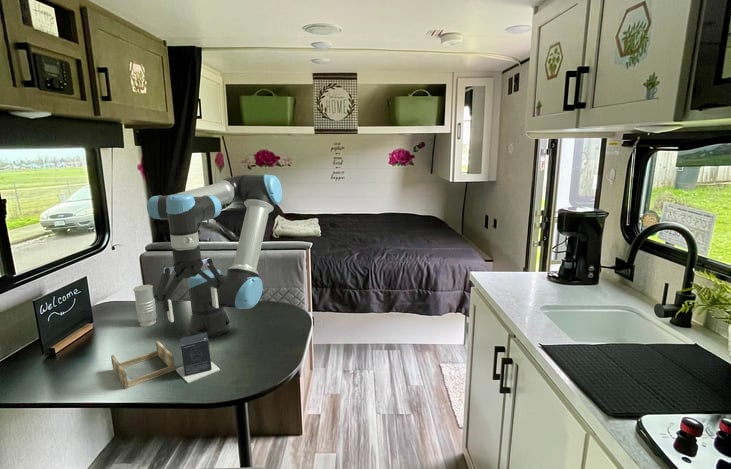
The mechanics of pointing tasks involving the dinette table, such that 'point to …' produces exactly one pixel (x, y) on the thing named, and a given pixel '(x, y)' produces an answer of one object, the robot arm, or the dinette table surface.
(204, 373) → the mat
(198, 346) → the box
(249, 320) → the dinette table surface
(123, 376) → the frame
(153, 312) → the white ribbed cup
